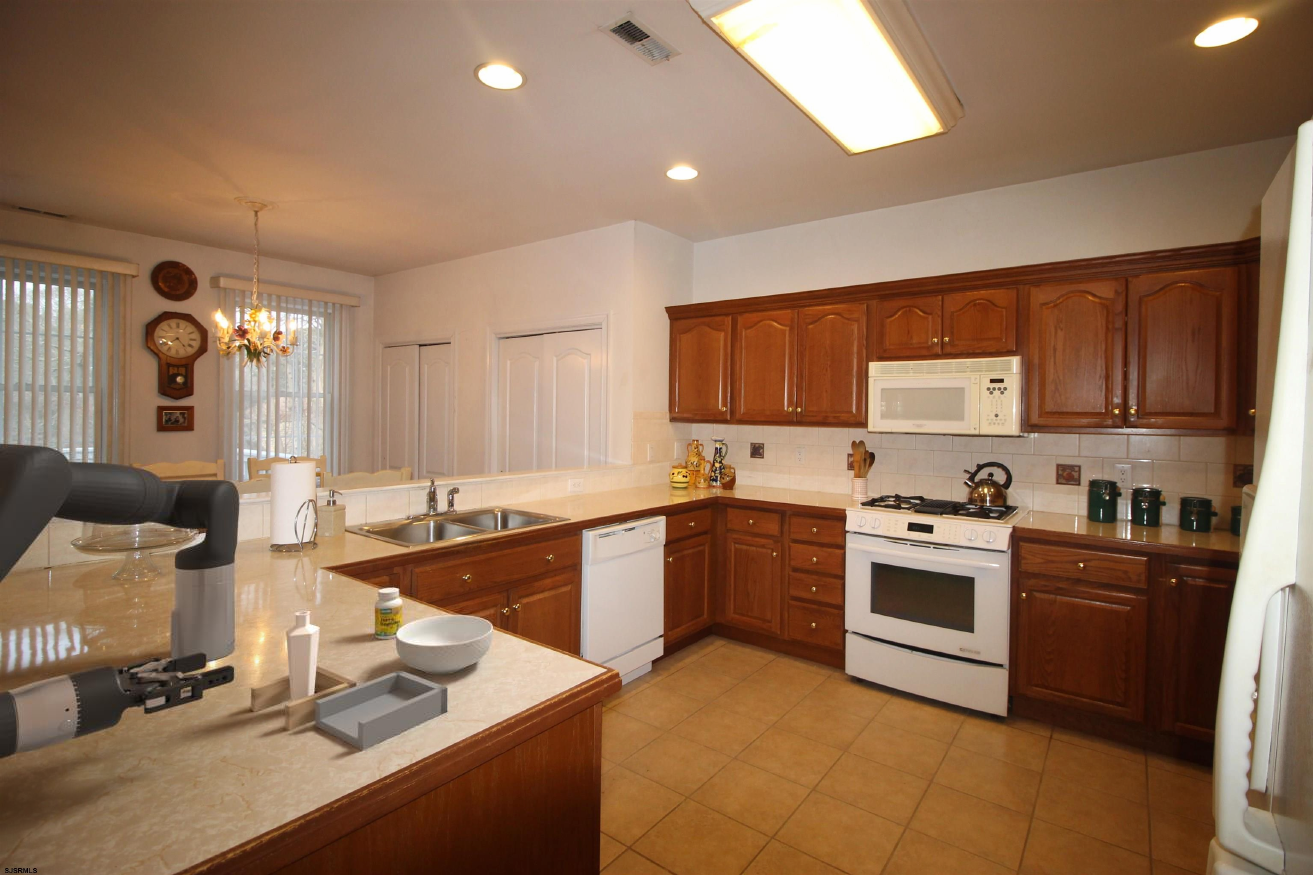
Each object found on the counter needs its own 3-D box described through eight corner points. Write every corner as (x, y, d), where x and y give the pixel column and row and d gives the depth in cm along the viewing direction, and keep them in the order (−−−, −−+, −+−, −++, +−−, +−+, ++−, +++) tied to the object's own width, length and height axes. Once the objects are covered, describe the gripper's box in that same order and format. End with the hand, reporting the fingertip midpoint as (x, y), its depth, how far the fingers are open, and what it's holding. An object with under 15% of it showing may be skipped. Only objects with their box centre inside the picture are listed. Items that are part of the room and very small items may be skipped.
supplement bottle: (399, 629, 134) (399, 585, 134) (404, 636, 130) (405, 591, 129) (372, 633, 131) (372, 588, 131) (376, 641, 127) (377, 594, 126)
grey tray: (362, 750, 85) (363, 723, 85) (315, 725, 92) (315, 700, 92) (447, 711, 97) (447, 687, 97) (399, 692, 103) (399, 670, 103)
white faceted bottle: (293, 701, 99) (293, 608, 99) (322, 701, 100) (322, 608, 99) (278, 715, 95) (278, 617, 94) (308, 714, 95) (308, 617, 95)
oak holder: (289, 730, 90) (289, 706, 90) (251, 709, 96) (251, 687, 96) (356, 703, 99) (356, 682, 99) (317, 686, 105) (317, 665, 105)
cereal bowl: (399, 692, 103) (400, 650, 103) (391, 658, 118) (391, 621, 118) (502, 674, 111) (502, 635, 111) (482, 644, 126) (482, 610, 126)
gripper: (84, 690, 70) (243, 649, 83) (45, 663, 77) (196, 629, 91) (83, 757, 70) (242, 705, 83) (44, 723, 77) (196, 680, 91)
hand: (218, 665), depth 87 cm, fingers open, 8 cm apart
